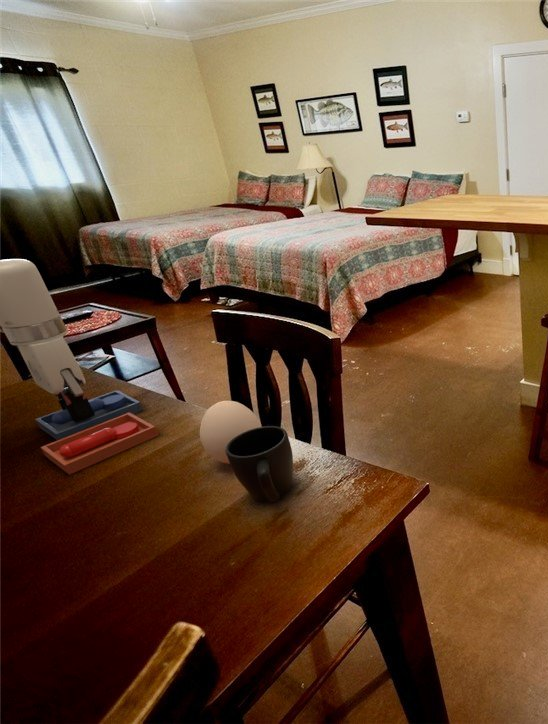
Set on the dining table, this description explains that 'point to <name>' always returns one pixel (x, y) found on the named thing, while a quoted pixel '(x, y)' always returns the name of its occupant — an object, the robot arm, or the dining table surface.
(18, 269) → the robot arm
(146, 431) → the terracotta tray
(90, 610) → the dining table surface
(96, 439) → the red spoon
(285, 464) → the mug
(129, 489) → the dining table surface
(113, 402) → the blue spoon
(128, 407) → the blue tray
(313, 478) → the dining table surface
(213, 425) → the egg
